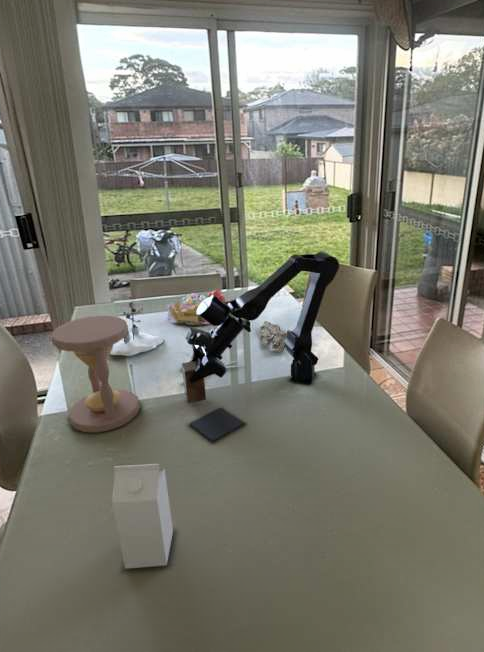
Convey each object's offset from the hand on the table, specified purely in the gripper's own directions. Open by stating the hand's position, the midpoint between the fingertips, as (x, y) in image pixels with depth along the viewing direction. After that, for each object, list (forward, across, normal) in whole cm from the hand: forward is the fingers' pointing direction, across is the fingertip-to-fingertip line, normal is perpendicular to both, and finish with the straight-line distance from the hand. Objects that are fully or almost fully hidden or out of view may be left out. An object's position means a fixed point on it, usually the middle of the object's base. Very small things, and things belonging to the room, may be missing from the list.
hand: (188, 377), depth 121 cm
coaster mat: (+2, +13, +9) cm, 16 cm away
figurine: (+14, -42, -3) cm, 45 cm away
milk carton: (+16, +45, -5) cm, 48 cm away
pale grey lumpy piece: (-19, -30, +31) cm, 47 cm away
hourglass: (+21, -3, -10) cm, 24 cm away
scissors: (-1, -15, +12) cm, 20 cm away
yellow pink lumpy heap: (-4, -64, +16) cm, 66 cm away
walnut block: (+4, 0, +6) cm, 7 cm away
